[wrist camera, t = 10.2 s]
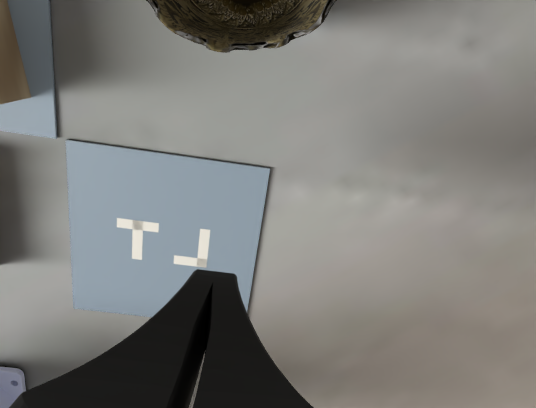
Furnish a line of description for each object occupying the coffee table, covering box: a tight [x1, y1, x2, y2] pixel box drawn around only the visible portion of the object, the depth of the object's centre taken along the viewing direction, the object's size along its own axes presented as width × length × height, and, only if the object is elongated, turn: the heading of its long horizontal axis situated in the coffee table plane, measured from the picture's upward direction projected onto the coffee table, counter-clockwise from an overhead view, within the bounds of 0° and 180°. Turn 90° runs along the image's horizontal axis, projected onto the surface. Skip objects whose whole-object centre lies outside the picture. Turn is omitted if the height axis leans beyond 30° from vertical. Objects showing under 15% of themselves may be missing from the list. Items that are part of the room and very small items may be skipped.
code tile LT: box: [66, 139, 270, 317], centre depth 23 cm, size 11×11×1 cm
